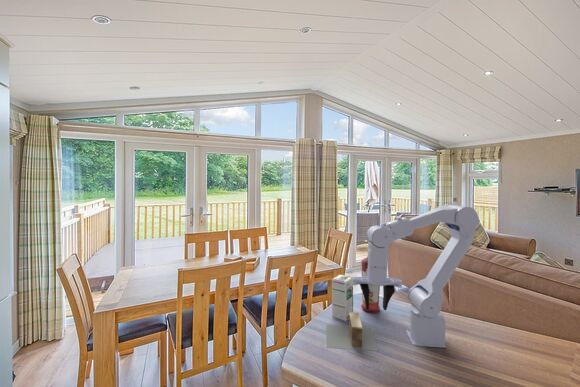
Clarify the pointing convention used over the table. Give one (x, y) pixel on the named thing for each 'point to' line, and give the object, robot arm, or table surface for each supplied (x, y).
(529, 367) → the table surface
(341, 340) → the mat
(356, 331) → the slab
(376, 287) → the liquor
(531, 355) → the table surface
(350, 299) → the syrup box
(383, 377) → the table surface
